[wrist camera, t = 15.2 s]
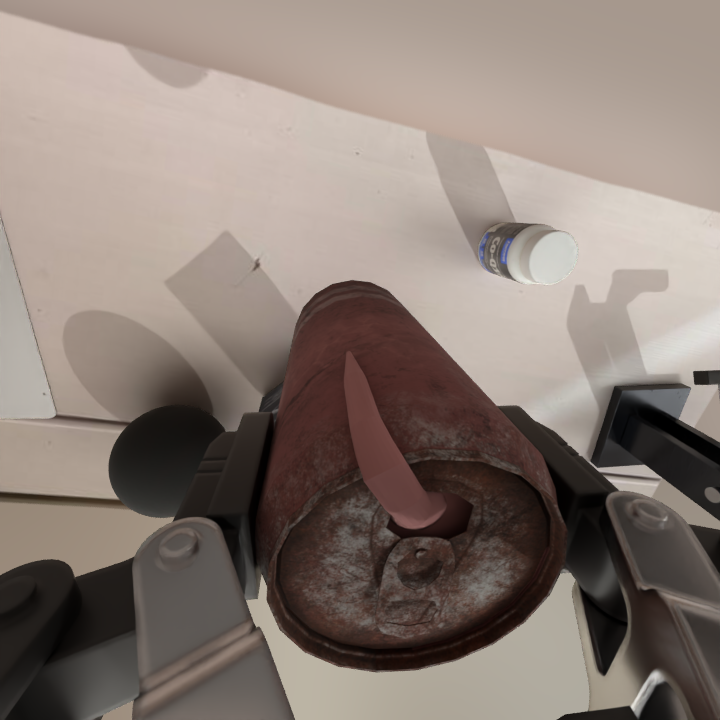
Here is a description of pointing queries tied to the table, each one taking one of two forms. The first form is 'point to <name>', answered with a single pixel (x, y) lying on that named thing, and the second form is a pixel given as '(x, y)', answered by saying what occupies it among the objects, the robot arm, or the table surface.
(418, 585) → the can
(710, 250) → the table surface
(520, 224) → the pill bottle
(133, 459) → the decorative ball
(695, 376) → the lever
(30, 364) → the clipboard
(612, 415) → the bracket
